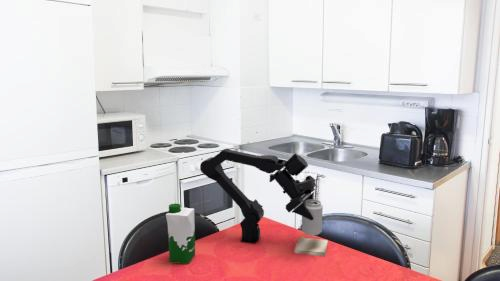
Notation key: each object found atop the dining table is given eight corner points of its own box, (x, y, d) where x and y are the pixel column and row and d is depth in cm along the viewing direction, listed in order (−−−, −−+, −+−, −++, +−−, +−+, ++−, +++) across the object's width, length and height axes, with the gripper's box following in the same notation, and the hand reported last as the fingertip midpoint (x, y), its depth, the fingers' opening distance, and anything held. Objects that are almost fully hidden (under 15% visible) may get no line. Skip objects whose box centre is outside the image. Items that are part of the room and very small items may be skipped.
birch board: (294, 252, 148) (294, 249, 147) (299, 240, 158) (299, 237, 158) (324, 256, 145) (324, 252, 144) (327, 243, 155) (327, 240, 155)
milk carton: (175, 252, 149) (173, 201, 146) (198, 254, 148) (196, 202, 144) (166, 263, 141) (163, 209, 137) (190, 265, 139) (188, 210, 136)
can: (324, 235, 147) (326, 204, 145) (305, 237, 145) (306, 205, 143) (317, 227, 154) (318, 197, 152) (298, 229, 153) (299, 199, 150)
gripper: (294, 176, 139) (324, 211, 136) (310, 165, 156) (337, 196, 153) (273, 195, 144) (302, 229, 141) (290, 182, 160) (316, 212, 158)
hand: (315, 216), depth 148 cm, fingers closed on can, 7 cm apart
